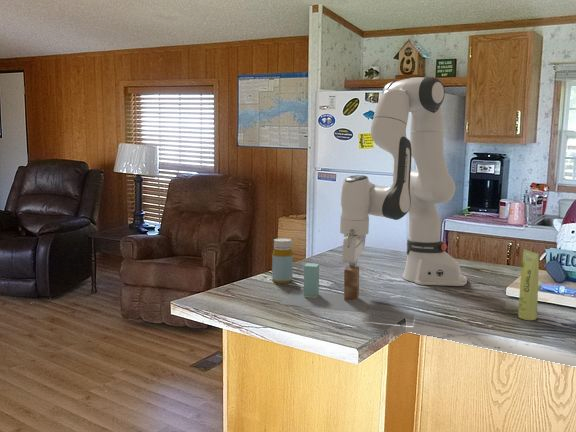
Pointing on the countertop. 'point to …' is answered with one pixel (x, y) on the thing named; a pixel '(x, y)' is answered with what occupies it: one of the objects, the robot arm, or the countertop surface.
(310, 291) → the teal block
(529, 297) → the tube
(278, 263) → the bottle
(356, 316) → the countertop surface
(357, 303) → the mat
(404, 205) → the robot arm
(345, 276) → the walnut block
